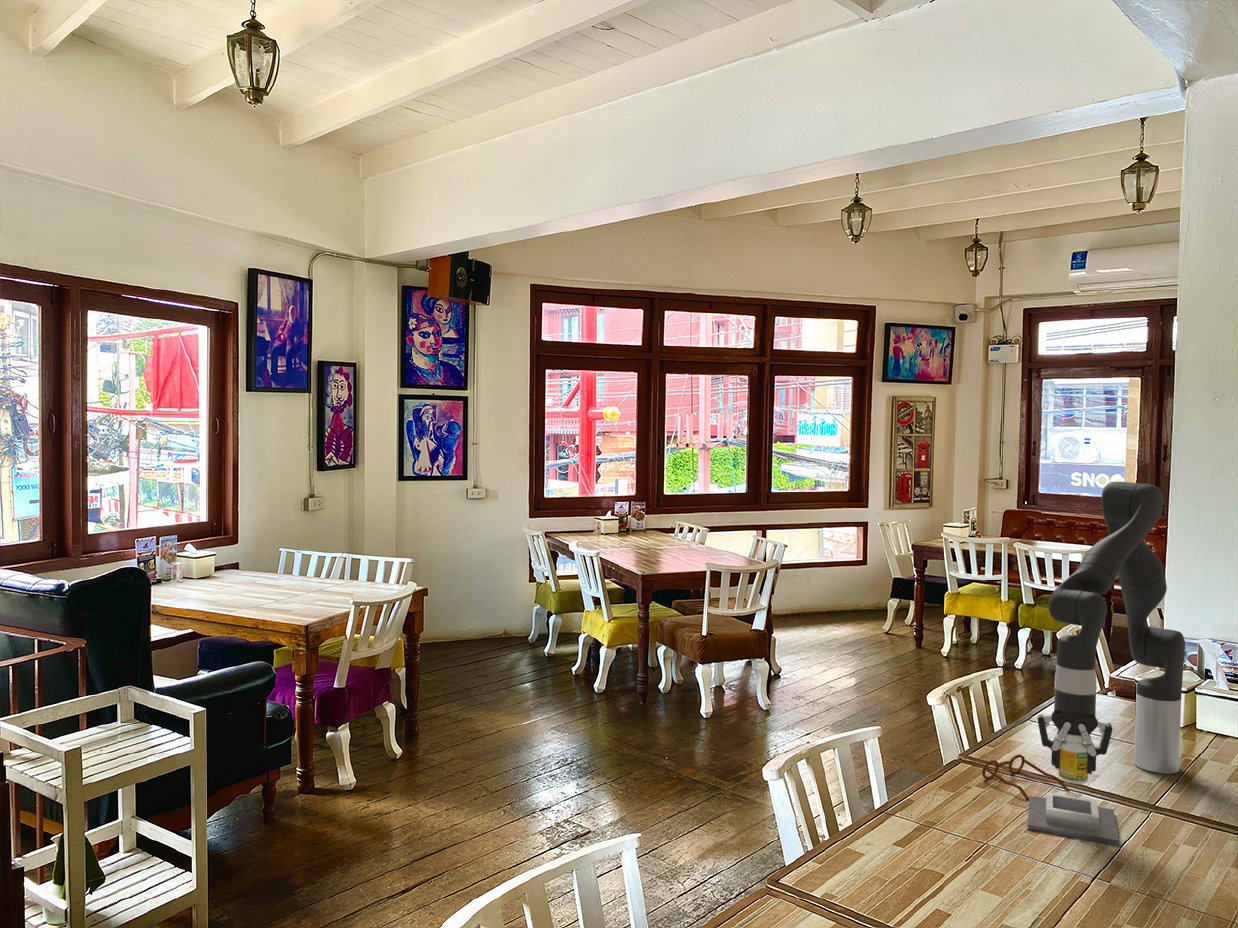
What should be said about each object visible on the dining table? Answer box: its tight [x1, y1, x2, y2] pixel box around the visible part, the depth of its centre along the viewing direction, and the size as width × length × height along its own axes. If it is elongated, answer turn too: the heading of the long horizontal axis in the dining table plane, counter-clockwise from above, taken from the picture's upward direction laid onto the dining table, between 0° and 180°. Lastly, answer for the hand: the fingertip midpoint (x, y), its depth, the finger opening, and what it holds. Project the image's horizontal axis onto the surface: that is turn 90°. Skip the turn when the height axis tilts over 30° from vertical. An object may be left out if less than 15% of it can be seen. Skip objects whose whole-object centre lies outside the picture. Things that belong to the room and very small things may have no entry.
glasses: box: [981, 754, 1071, 802], centre depth 203 cm, size 13×13×5 cm
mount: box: [1027, 792, 1120, 846], centre depth 184 cm, size 16×16×4 cm
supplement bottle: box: [1058, 734, 1089, 785], centre depth 184 cm, size 5×5×10 cm
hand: (1073, 769), depth 184 cm, fingers closed on supplement bottle, 5 cm apart
